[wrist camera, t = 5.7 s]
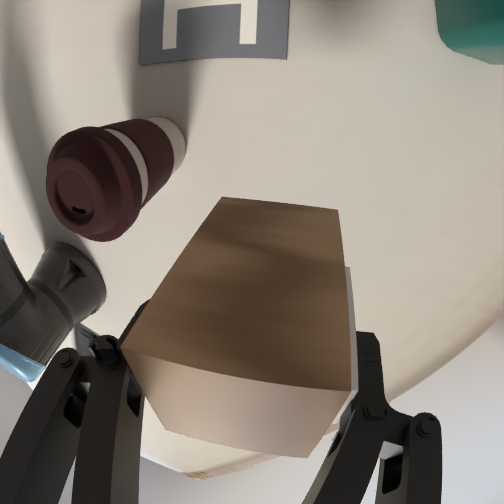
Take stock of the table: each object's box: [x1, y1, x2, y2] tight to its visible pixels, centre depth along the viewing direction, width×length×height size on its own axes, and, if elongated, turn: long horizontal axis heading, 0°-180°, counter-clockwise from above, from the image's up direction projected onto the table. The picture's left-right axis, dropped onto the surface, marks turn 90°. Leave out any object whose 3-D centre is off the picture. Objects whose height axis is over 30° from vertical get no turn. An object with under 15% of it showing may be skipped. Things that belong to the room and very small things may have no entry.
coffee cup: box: [46, 117, 185, 242], centre depth 25 cm, size 10×10×15 cm
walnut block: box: [120, 197, 351, 458], centre depth 12 cm, size 6×6×10 cm
